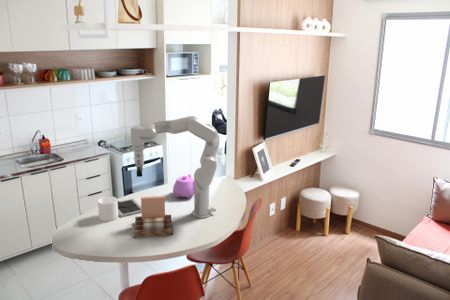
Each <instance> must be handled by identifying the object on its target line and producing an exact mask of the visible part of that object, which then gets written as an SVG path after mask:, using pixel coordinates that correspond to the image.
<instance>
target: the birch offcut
mask: <svg viewBox="0 0 450 300" xmlns="http://www.w3.org/2000/svg"><path fill="white" fill-rule="evenodd" d="M161 222H164V218H148V219H143V223H161Z"/></svg>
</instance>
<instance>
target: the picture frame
mask: <svg viewBox="0 0 450 300" xmlns="http://www.w3.org/2000/svg"><path fill="white" fill-rule="evenodd" d="M117 202H118V216H119V217H120V218H126V217H129V216H133V215H138V214H142V210H141V204H139V203H138V202H137V201H136V200H135V199H134V198H129V199H124V200H120V201H119V200H117Z"/></svg>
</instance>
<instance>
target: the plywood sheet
mask: <svg viewBox="0 0 450 300" xmlns="http://www.w3.org/2000/svg"><path fill="white" fill-rule="evenodd" d="M165 201H166V199H165V195H154V196H153V195H152V196H151V195H150V196H141V197H140V206H141V210H142V213H141V216H142V220H143V219H148V218H164V219H165V215H166V202H165Z"/></svg>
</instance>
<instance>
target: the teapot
mask: <svg viewBox="0 0 450 300" xmlns="http://www.w3.org/2000/svg"><path fill="white" fill-rule="evenodd" d="M172 192H173V194H174V195H175V196H176V198H177V199H179V198H186V199H187V200H189V199H191V197H194V177H192V174H190V173H189V174H188V175H181V176H179V177H178V178H176V180H175V182H174V184H173V188H172Z"/></svg>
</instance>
